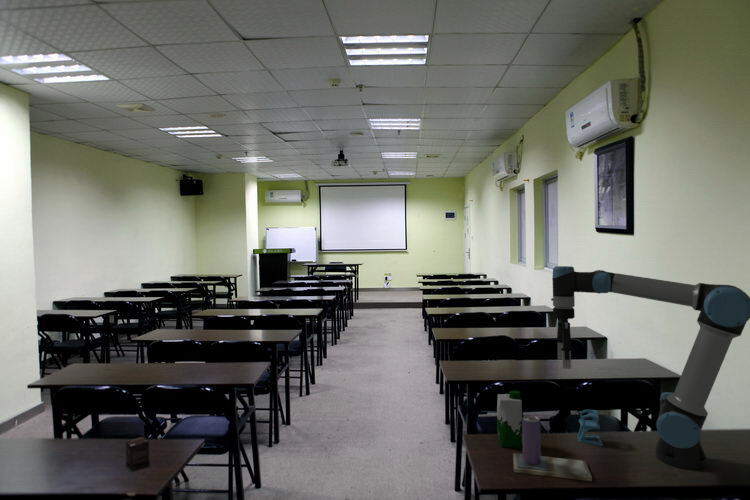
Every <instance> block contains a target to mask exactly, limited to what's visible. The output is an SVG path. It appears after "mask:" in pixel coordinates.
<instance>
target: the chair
mask: <svg viewBox="0 0 750 500" xmlns="http://www.w3.org/2000/svg"><path fill="white" fill-rule="evenodd" d="M578 413H579V415H580V419H578V423H579V424H580V427H579V430H578V433H577V434H578V435H577V437H576V439H577V440H578V442H579V443H584V444H589V445H594V446H598V447H604V443H603V441H602V439H601V437H600V436H599V435H586V434H587V433H588V431H590V430H600V429H601V426H600V425H599V420H600V415H599V412H598V411H597V410H594V409H583V410H582V411H581V410H580V411H578ZM583 414H585V415H583ZM587 418H592V420H589V419H587ZM592 440H598V442H597V441H592Z"/></svg>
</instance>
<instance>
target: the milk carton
mask: <svg viewBox="0 0 750 500" xmlns="http://www.w3.org/2000/svg"><path fill="white" fill-rule="evenodd" d="M521 397H522V396H521V392H520V391H519V390H510V391H509V392H508V393H504V394H501V393H500V394H499V393H498V394H497V404H496V426H497V428H496V429H497V436H498V440H499V442H500V443H499V444H500V446H501V448H515V449H521V448H522V420H523V416H522V415H523V412H522V411H523V407H522V405H523V403H522V398H521Z"/></svg>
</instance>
